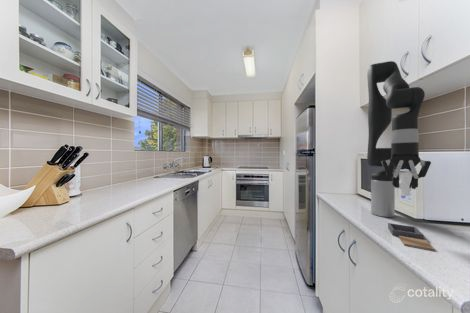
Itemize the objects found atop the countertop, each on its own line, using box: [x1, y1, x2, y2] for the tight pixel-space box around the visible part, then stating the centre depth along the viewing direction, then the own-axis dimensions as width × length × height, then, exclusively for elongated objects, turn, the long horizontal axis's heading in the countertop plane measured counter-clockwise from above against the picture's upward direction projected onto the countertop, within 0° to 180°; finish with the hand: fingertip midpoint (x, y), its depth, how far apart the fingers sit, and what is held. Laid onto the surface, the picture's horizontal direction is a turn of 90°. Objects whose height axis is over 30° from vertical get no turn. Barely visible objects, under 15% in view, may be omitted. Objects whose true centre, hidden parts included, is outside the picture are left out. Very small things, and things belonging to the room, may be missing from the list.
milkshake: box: [396, 170, 413, 197], centre depth 68 cm, size 4×5×10 cm
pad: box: [398, 236, 436, 252], centre depth 61 cm, size 7×7×1 cm
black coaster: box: [387, 222, 425, 240], centre depth 68 cm, size 8×8×2 cm
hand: (404, 187), depth 68 cm, fingers closed on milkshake, 4 cm apart
